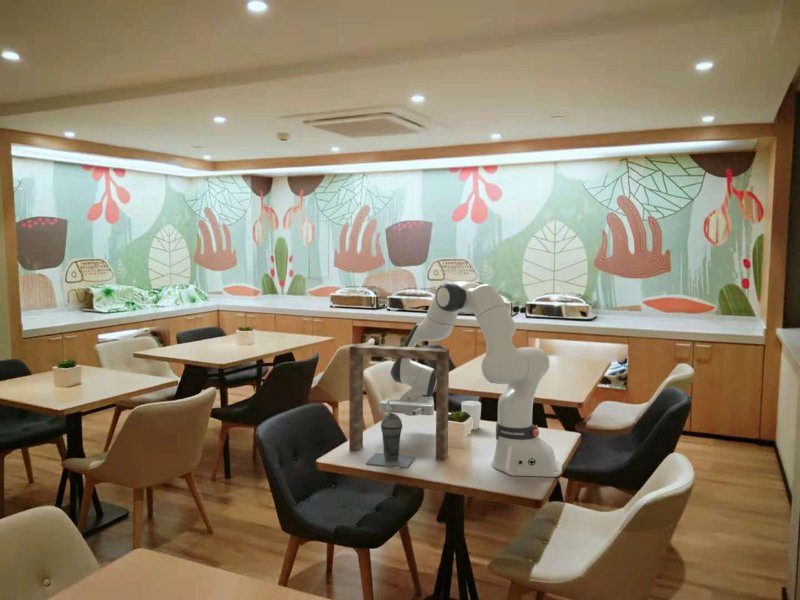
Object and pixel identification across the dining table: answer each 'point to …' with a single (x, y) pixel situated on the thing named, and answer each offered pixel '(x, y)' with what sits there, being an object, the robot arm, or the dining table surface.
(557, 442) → the dining table surface
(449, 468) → the dining table surface
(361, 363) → the walnut archway
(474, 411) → the white cup
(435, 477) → the dining table surface
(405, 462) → the slate mat
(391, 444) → the beverage cup
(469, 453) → the dining table surface
